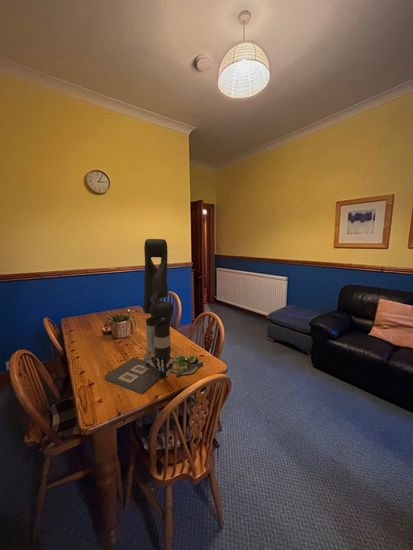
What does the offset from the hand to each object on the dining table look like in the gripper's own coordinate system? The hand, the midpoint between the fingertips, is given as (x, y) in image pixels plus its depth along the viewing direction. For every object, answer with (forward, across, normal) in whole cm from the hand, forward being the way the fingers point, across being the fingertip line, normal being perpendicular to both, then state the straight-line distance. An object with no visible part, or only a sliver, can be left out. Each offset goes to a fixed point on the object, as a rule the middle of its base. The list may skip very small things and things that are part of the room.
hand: (163, 377), depth 110 cm
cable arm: (-1, +8, -6) cm, 10 cm away
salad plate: (+4, 0, -19) cm, 20 cm away
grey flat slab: (+4, +17, 0) cm, 17 cm away
